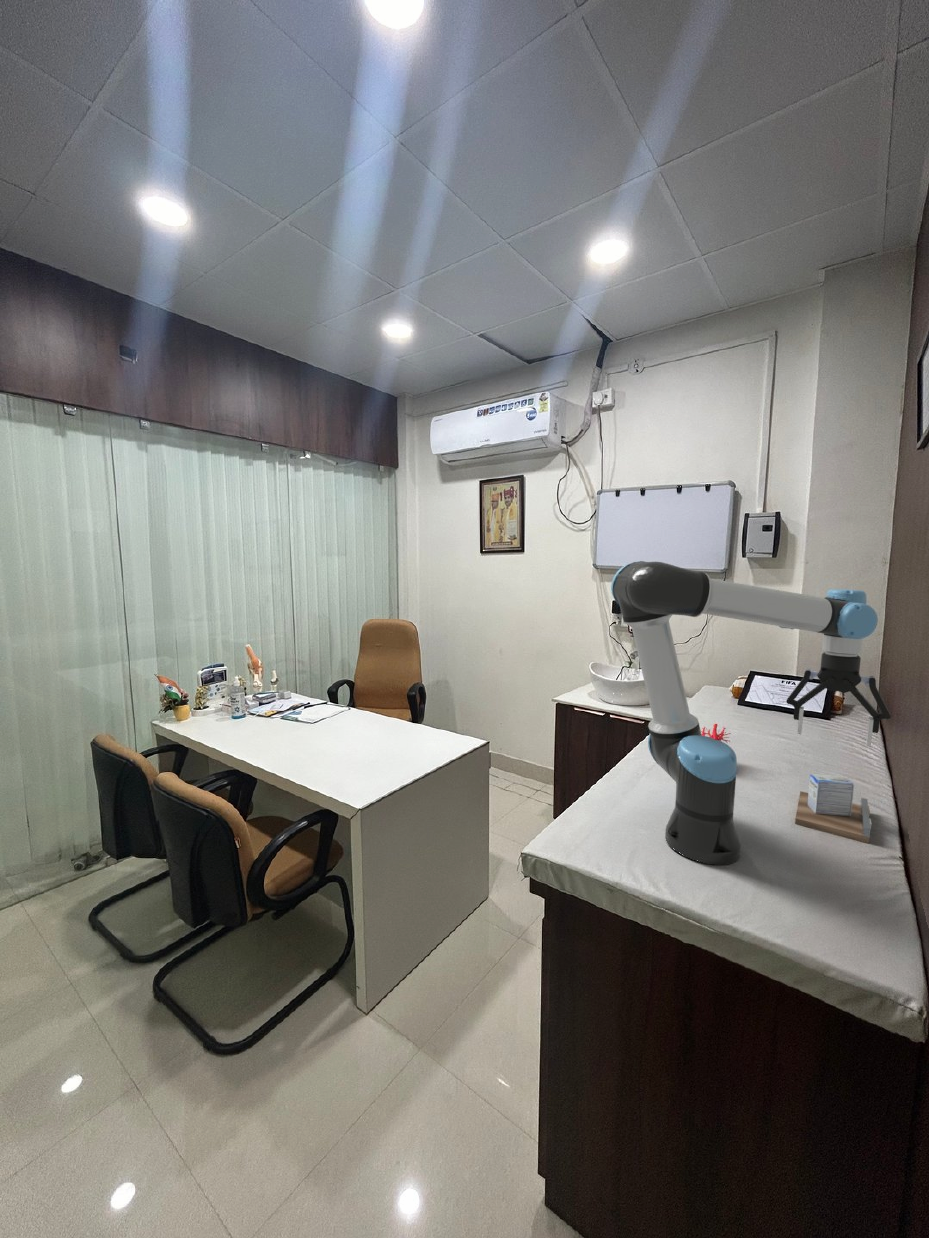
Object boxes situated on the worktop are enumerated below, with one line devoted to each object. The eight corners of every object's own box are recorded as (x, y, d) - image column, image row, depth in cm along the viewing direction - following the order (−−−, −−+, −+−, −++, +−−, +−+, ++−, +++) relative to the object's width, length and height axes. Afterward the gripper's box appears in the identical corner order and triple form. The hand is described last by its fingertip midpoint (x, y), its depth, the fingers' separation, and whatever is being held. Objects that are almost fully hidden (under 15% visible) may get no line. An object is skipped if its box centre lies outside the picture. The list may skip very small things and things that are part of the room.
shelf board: (870, 843, 112) (872, 829, 112) (794, 823, 120) (796, 810, 120) (867, 812, 126) (868, 799, 126) (800, 796, 135) (801, 784, 134)
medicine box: (841, 808, 125) (844, 775, 124) (851, 817, 121) (854, 783, 120) (806, 805, 127) (809, 772, 126) (815, 814, 122) (818, 780, 121)
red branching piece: (688, 767, 154) (690, 730, 152) (696, 755, 163) (698, 720, 162) (724, 775, 148) (726, 736, 146) (730, 763, 157) (732, 726, 156)
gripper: (908, 657, 115) (898, 745, 117) (781, 645, 130) (775, 724, 132) (912, 662, 109) (901, 755, 111) (778, 649, 124) (771, 731, 126)
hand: (832, 738), depth 122 cm, fingers open, 13 cm apart
